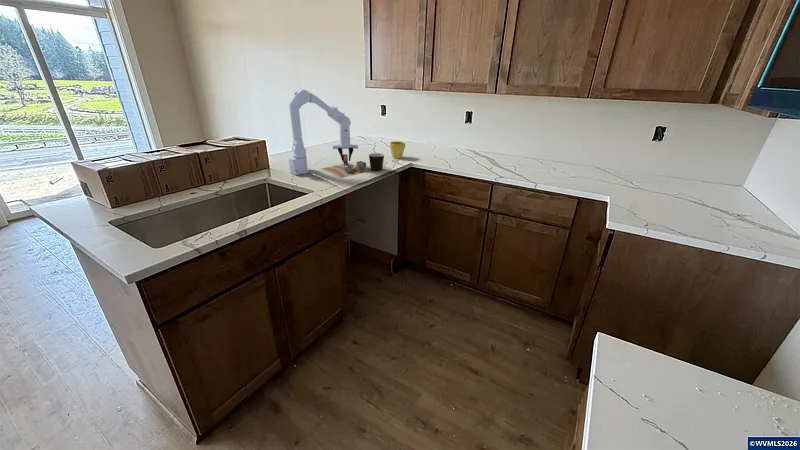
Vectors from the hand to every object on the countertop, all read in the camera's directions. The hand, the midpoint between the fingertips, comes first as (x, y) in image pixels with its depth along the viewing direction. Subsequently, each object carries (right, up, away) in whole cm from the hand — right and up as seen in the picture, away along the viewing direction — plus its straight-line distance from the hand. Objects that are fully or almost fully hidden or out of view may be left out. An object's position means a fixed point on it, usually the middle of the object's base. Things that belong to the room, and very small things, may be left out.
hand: (346, 160), depth 197 cm
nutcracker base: (+1, -8, -7) cm, 10 cm away
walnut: (+7, -8, -9) cm, 14 cm away
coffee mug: (+19, -7, -3) cm, 21 cm away
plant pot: (+30, +7, +27) cm, 41 cm away
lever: (+1, -5, -6) cm, 8 cm away
